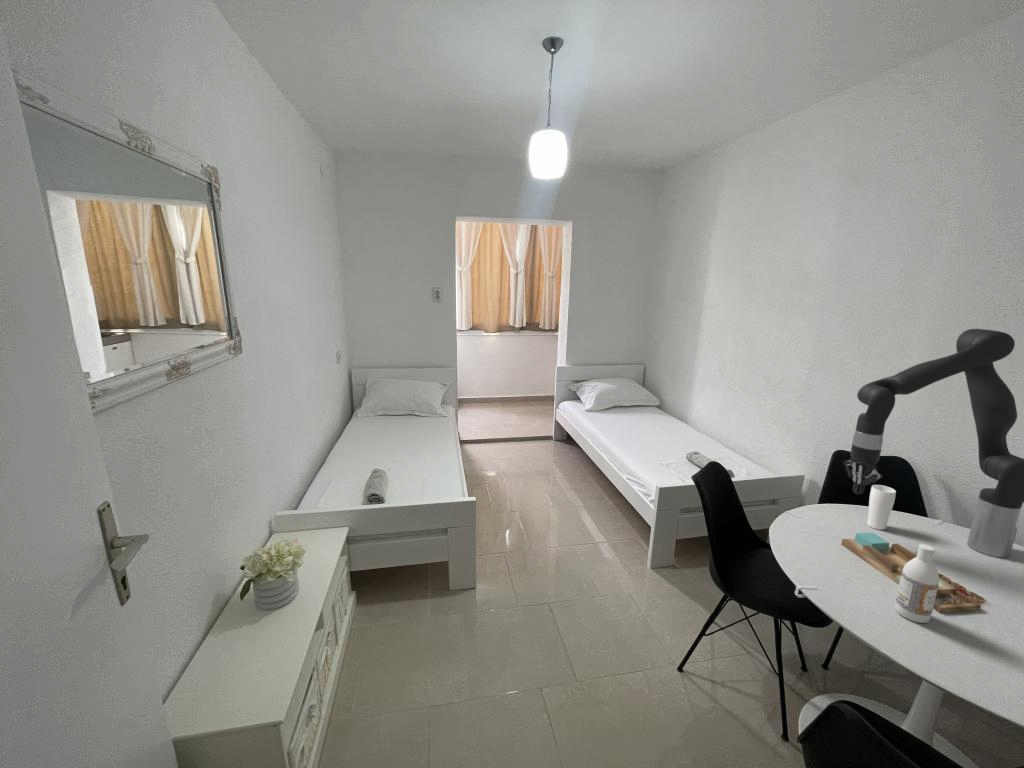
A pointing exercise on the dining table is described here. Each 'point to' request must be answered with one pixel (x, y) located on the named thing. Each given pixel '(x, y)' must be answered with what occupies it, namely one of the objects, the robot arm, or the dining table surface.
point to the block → (872, 541)
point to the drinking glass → (880, 506)
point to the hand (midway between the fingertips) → (857, 493)
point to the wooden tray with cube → (892, 568)
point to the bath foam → (918, 586)
